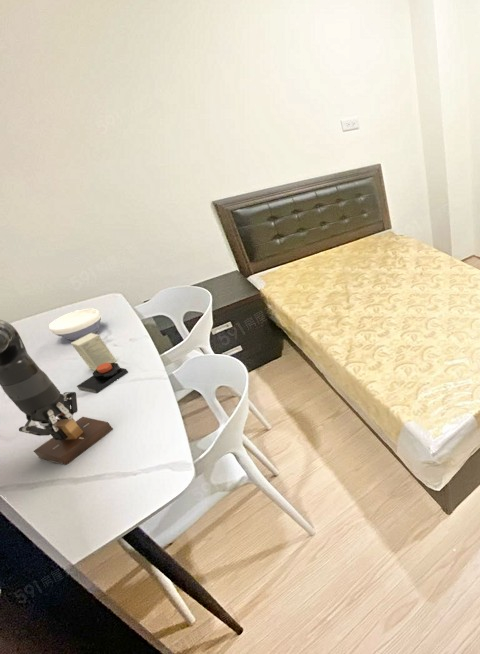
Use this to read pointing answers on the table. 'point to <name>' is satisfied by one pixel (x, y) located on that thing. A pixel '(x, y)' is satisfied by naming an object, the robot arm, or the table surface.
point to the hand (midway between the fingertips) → (68, 433)
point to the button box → (102, 379)
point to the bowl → (76, 324)
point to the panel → (74, 442)
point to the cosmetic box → (93, 351)
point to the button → (104, 368)
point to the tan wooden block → (69, 428)
